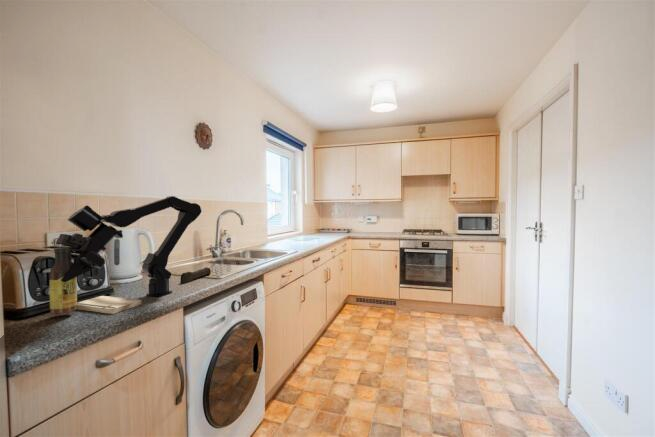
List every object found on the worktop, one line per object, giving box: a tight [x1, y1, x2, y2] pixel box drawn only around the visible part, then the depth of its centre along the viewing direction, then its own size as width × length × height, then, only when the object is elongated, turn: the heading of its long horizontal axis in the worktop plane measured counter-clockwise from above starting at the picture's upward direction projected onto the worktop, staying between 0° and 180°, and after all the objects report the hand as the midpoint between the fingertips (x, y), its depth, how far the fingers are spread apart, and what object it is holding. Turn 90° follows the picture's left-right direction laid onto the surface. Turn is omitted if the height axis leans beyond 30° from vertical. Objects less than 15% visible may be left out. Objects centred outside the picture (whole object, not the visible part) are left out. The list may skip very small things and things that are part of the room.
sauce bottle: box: [49, 246, 78, 316], centre depth 90 cm, size 6×6×20 cm
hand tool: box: [179, 266, 211, 284], centre depth 139 cm, size 19×4×5 cm, turn 164°
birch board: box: [76, 295, 142, 315], centre depth 99 cm, size 10×18×2 cm, turn 74°
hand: (57, 280), depth 89 cm, fingers closed on sauce bottle, 6 cm apart
